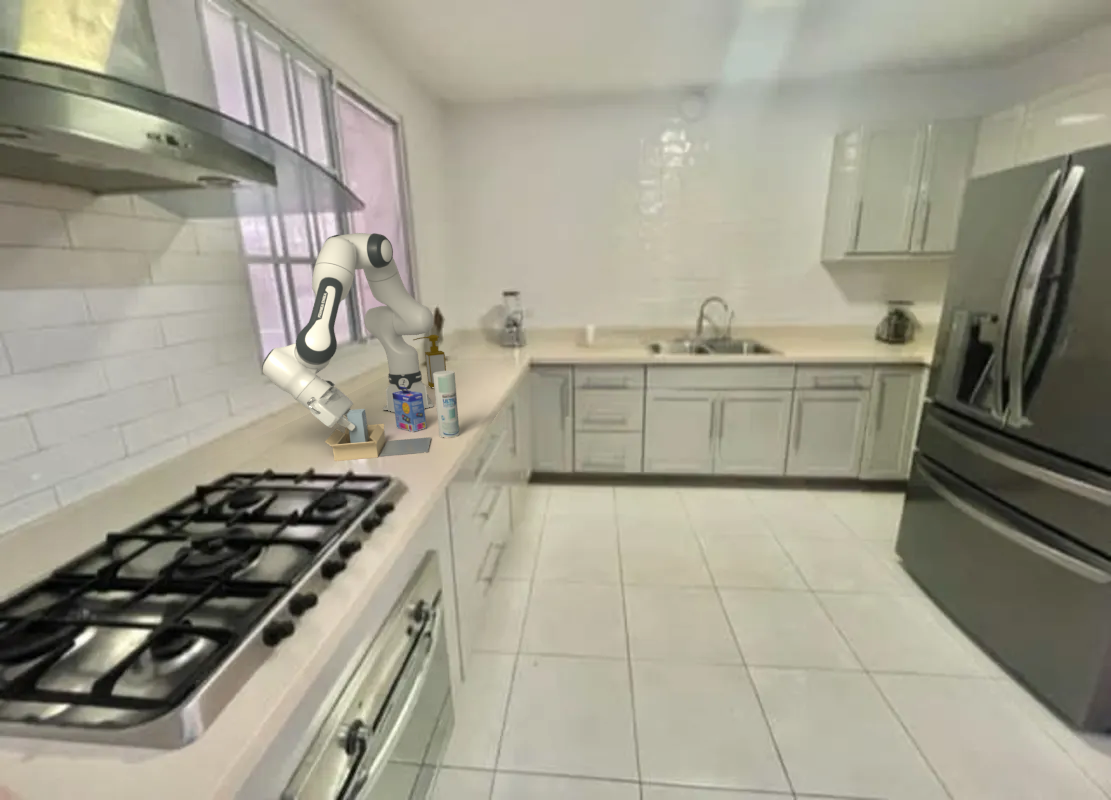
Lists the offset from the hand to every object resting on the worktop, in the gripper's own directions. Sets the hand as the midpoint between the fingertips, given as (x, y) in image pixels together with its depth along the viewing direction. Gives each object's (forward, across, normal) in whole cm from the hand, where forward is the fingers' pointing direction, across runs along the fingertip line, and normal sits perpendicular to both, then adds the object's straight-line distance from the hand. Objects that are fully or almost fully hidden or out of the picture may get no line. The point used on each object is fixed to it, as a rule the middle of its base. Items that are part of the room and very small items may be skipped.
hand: (356, 425), depth 156 cm
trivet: (+15, 0, -4) cm, 15 cm away
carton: (+6, 0, +5) cm, 8 cm away
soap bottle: (+16, +90, -4) cm, 92 cm away
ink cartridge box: (+14, +21, -3) cm, 26 cm away
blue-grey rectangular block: (+6, 0, +5) cm, 8 cm away
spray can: (+24, +9, -12) cm, 28 cm away
